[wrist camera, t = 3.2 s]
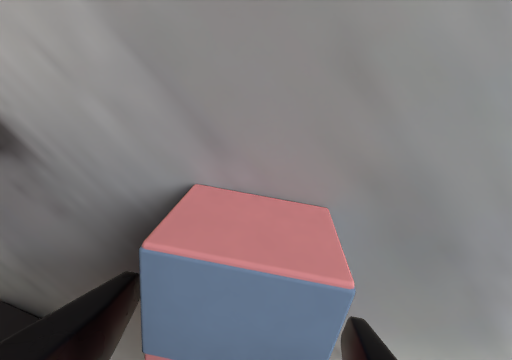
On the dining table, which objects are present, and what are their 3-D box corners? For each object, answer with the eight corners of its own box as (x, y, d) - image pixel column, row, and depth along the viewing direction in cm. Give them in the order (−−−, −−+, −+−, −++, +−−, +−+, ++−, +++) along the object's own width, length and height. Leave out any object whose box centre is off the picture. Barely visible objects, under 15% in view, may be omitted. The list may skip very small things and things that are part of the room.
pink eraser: (286, 353, 10) (287, 467, 7) (184, 332, 10) (143, 434, 7) (330, 206, 7) (360, 287, 4) (193, 181, 7) (136, 243, 5)
